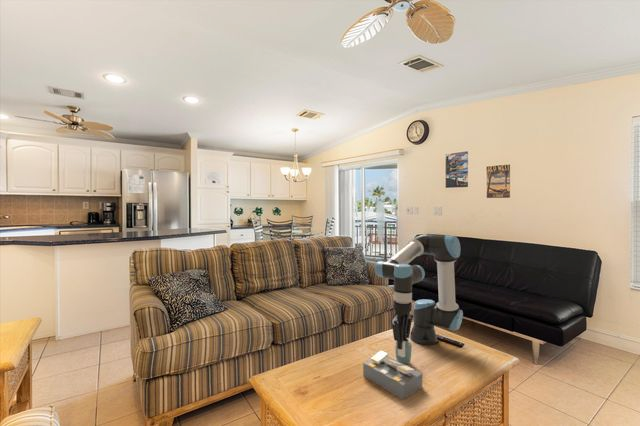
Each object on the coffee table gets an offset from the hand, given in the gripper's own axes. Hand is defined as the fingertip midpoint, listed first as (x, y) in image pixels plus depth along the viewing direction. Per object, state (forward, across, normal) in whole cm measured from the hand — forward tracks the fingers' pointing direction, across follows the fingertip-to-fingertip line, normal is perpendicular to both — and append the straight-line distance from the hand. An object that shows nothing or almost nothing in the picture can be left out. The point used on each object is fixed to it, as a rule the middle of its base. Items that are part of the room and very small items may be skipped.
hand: (401, 355), depth 131 cm
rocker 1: (+8, -3, -14) cm, 17 cm away
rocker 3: (+8, -3, 0) cm, 9 cm away
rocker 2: (+8, -3, -7) cm, 11 cm away
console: (+15, -3, -7) cm, 17 cm away
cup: (+16, -21, -14) cm, 30 cm away
